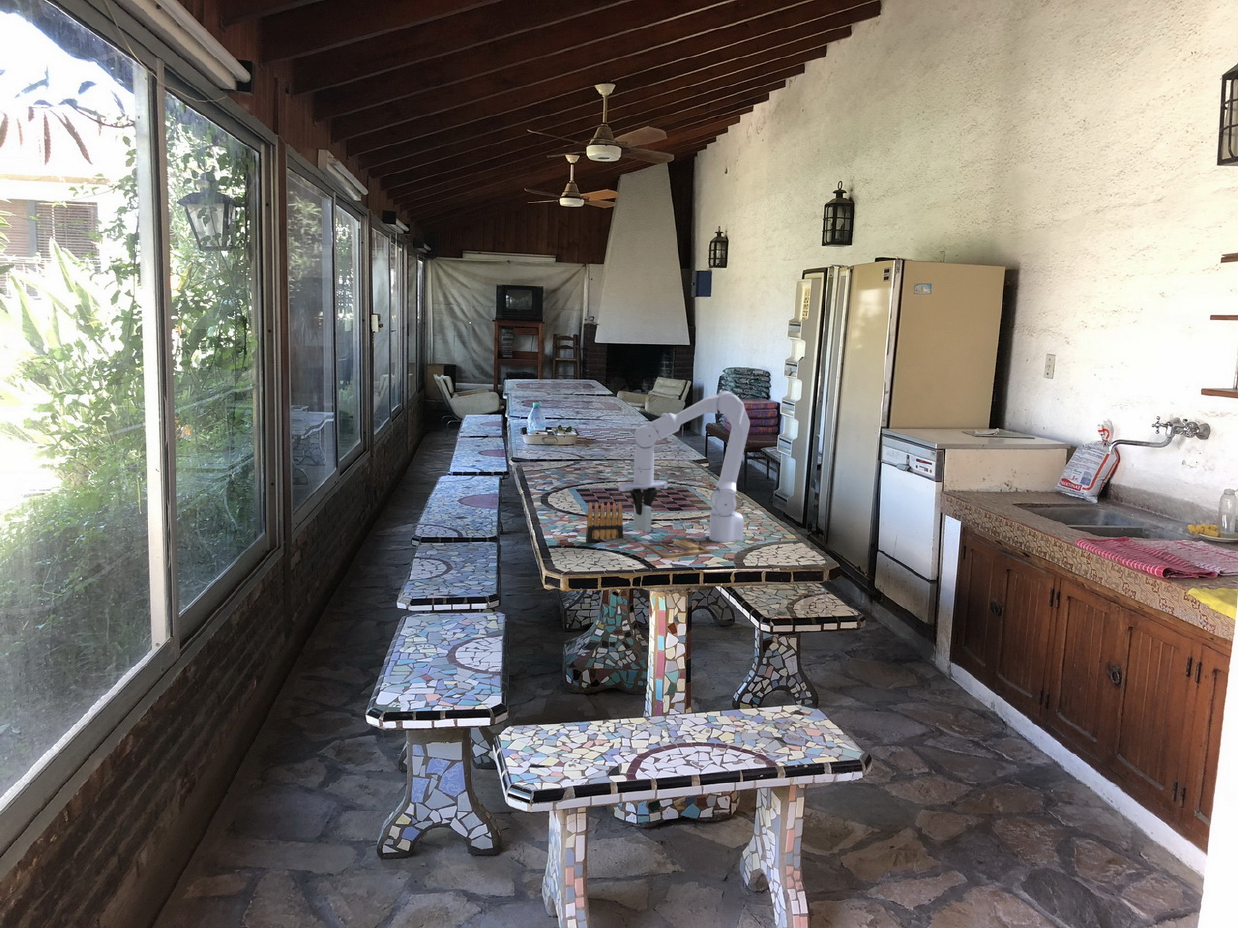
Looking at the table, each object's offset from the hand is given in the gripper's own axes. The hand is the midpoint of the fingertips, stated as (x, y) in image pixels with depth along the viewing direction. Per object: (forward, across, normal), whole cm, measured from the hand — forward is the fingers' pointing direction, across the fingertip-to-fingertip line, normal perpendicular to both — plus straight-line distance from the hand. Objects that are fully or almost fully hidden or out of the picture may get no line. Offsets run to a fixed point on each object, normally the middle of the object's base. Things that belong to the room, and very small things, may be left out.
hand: (642, 513), depth 250 cm
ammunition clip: (+8, +10, -3) cm, 14 cm away
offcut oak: (+7, -8, +13) cm, 17 cm away
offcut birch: (+8, -8, +14) cm, 17 cm away
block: (+4, 0, 0) cm, 4 cm away
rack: (+8, -4, +14) cm, 17 cm away
